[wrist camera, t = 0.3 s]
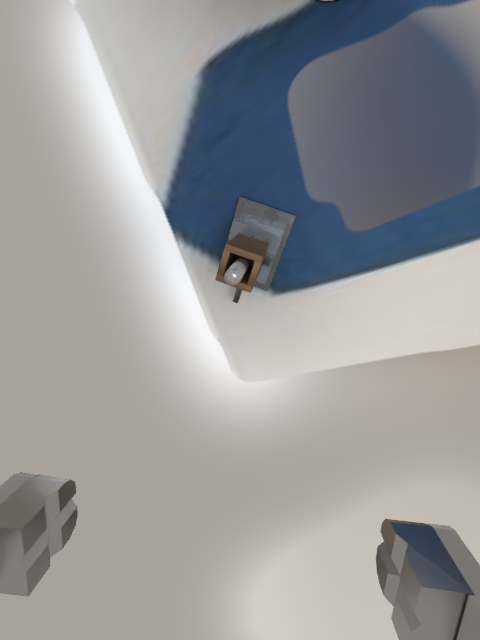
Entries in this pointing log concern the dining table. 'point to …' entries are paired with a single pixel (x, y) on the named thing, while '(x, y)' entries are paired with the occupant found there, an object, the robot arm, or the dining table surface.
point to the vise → (264, 227)
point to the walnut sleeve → (246, 249)
